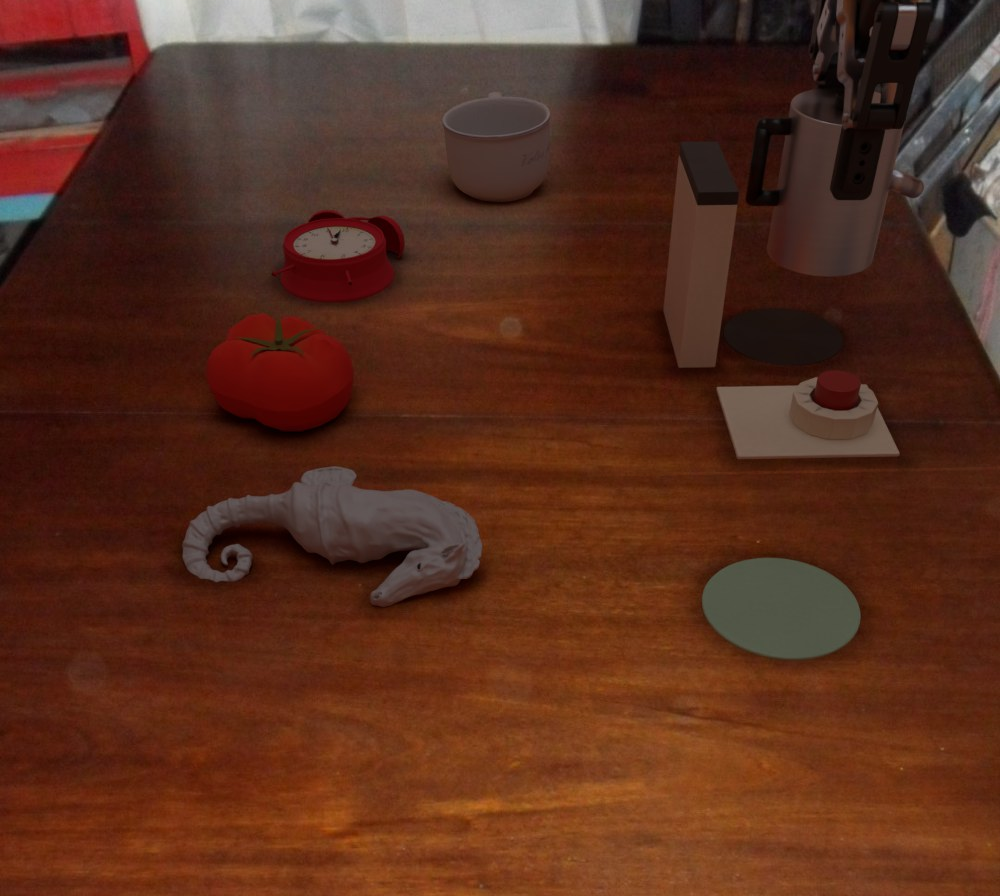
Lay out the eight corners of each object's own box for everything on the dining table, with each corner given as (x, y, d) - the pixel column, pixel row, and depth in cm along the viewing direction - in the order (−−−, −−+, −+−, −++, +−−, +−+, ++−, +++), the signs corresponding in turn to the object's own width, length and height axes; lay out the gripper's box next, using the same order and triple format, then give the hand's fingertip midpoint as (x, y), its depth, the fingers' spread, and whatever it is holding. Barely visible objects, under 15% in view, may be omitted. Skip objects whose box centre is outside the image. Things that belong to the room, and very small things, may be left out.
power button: (850, 390, 91) (855, 369, 90) (860, 412, 89) (865, 391, 87) (809, 391, 91) (813, 370, 89) (818, 413, 88) (822, 391, 87)
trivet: (838, 565, 80) (840, 555, 79) (875, 666, 73) (878, 656, 72) (690, 568, 80) (691, 558, 79) (713, 669, 73) (714, 659, 72)
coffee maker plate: (826, 317, 105) (828, 307, 104) (853, 375, 98) (855, 364, 97) (713, 319, 104) (714, 308, 104) (732, 377, 97) (733, 366, 97)
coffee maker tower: (696, 319, 104) (717, 141, 94) (713, 377, 97) (739, 191, 87) (662, 320, 104) (680, 141, 94) (677, 378, 97) (698, 191, 87)
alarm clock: (253, 267, 104) (308, 165, 111) (269, 325, 109) (320, 224, 117) (366, 280, 102) (414, 175, 109) (376, 338, 107) (422, 235, 115)
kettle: (894, 232, 75) (931, 75, 69) (920, 277, 71) (963, 114, 64) (729, 232, 75) (751, 75, 69) (745, 277, 70) (770, 114, 64)
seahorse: (168, 619, 74) (483, 568, 73) (168, 469, 79) (464, 419, 78) (196, 656, 79) (493, 609, 78) (195, 513, 84) (474, 466, 83)
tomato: (304, 459, 89) (293, 380, 84) (193, 419, 93) (176, 341, 88) (379, 401, 95) (373, 324, 90) (272, 366, 99) (260, 290, 94)
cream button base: (863, 397, 95) (871, 363, 93) (896, 467, 88) (906, 432, 86) (714, 400, 95) (719, 365, 93) (735, 470, 88) (741, 435, 86)
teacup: (541, 217, 120) (543, 134, 114) (435, 211, 121) (432, 128, 115) (558, 166, 129) (560, 86, 124) (460, 160, 131) (458, 81, 125)
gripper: (1031, -152, 53) (932, 225, 64) (942, -204, 63) (870, 130, 75) (862, -153, 52) (794, 225, 64) (800, -204, 63) (751, 130, 74)
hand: (835, 172), depth 69 cm, fingers closed on kettle, 6 cm apart
